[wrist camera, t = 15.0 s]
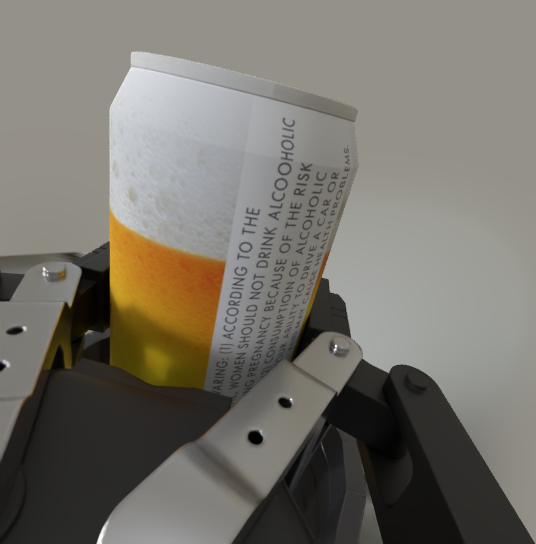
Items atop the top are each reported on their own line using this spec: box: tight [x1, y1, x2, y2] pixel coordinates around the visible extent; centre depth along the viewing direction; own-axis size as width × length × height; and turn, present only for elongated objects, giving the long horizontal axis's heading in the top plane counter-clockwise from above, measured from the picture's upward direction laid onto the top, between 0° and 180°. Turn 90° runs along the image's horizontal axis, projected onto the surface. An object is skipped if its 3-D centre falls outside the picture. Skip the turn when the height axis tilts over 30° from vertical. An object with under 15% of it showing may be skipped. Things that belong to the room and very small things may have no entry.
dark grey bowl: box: [81, 327, 366, 544], centre depth 14 cm, size 15×15×4 cm
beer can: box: [110, 52, 358, 409], centre depth 11 cm, size 6×6×15 cm
